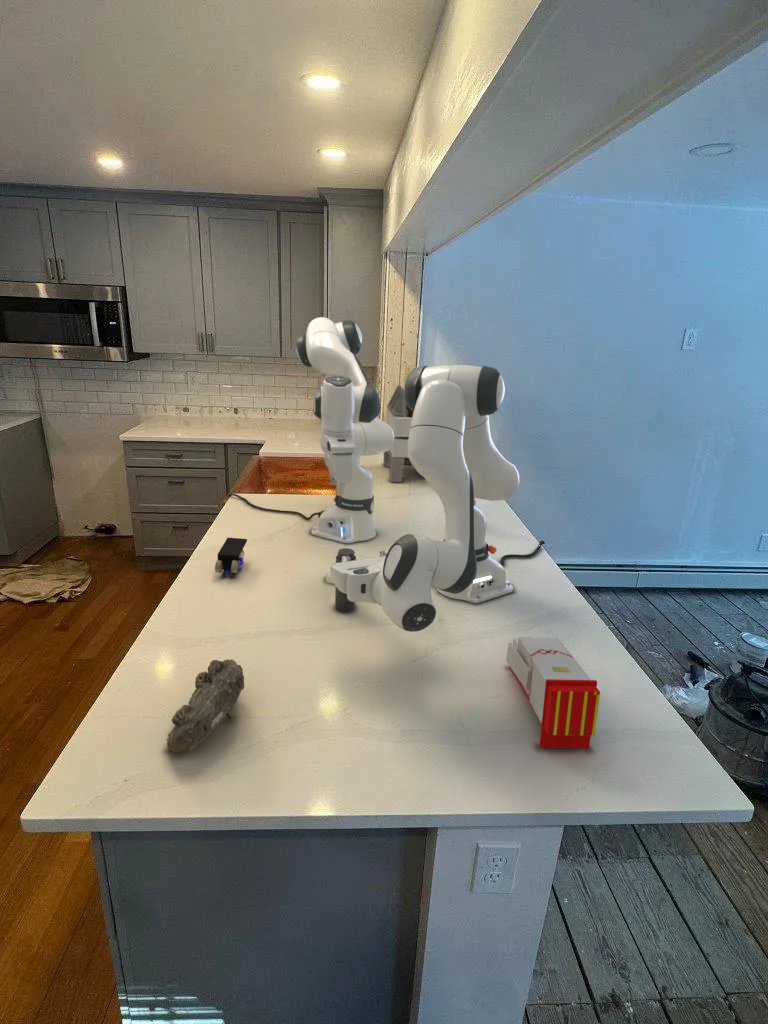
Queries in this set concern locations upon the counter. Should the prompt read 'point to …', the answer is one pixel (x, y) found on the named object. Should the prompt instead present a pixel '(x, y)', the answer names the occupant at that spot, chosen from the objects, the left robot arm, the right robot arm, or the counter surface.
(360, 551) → the counter surface
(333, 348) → the left robot arm
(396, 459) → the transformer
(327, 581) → the lid
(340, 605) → the dark gray cylinder
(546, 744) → the toy
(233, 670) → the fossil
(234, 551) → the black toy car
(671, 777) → the counter surface
